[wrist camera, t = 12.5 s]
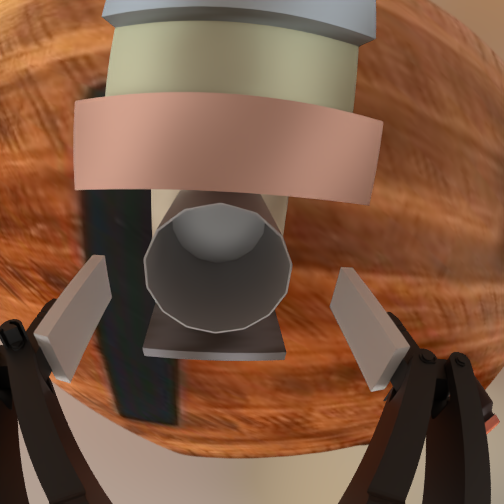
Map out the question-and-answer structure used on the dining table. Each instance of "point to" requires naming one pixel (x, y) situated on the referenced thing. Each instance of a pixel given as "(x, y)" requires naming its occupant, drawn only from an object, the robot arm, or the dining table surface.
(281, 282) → the cup
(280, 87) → the pastel book stand
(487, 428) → the bottle
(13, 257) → the dining table surface
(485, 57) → the dining table surface
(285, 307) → the dining table surface
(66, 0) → the dining table surface
